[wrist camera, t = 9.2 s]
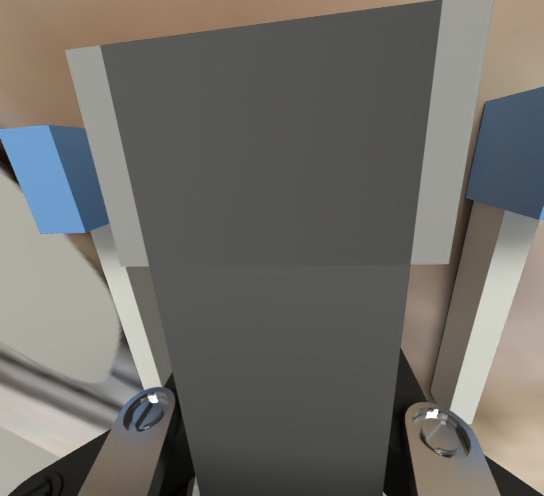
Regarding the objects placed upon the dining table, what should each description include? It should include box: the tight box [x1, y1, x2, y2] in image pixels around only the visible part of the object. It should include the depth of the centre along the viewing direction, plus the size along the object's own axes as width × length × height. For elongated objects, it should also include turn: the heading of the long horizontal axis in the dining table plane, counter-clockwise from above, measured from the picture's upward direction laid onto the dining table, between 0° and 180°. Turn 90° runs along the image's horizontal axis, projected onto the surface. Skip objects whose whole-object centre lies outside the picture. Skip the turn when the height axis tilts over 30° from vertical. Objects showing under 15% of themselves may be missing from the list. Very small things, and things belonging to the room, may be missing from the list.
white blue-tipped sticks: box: [0, 87, 544, 424], centre depth 9 cm, size 12×29×3 cm, turn 93°
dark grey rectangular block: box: [65, 0, 494, 496], centre depth 8 cm, size 16×5×5 cm, turn 3°
